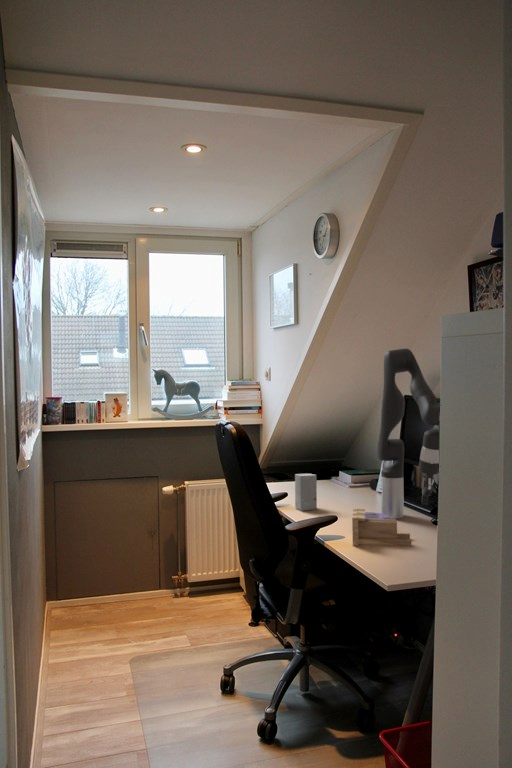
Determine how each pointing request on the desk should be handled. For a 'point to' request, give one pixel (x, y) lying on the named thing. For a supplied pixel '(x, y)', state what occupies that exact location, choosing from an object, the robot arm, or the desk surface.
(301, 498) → the skincare box
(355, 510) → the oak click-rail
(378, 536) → the light brown wooden block
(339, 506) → the desk surface
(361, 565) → the desk surface
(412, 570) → the desk surface
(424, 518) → the desk surface
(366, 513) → the tape roll
